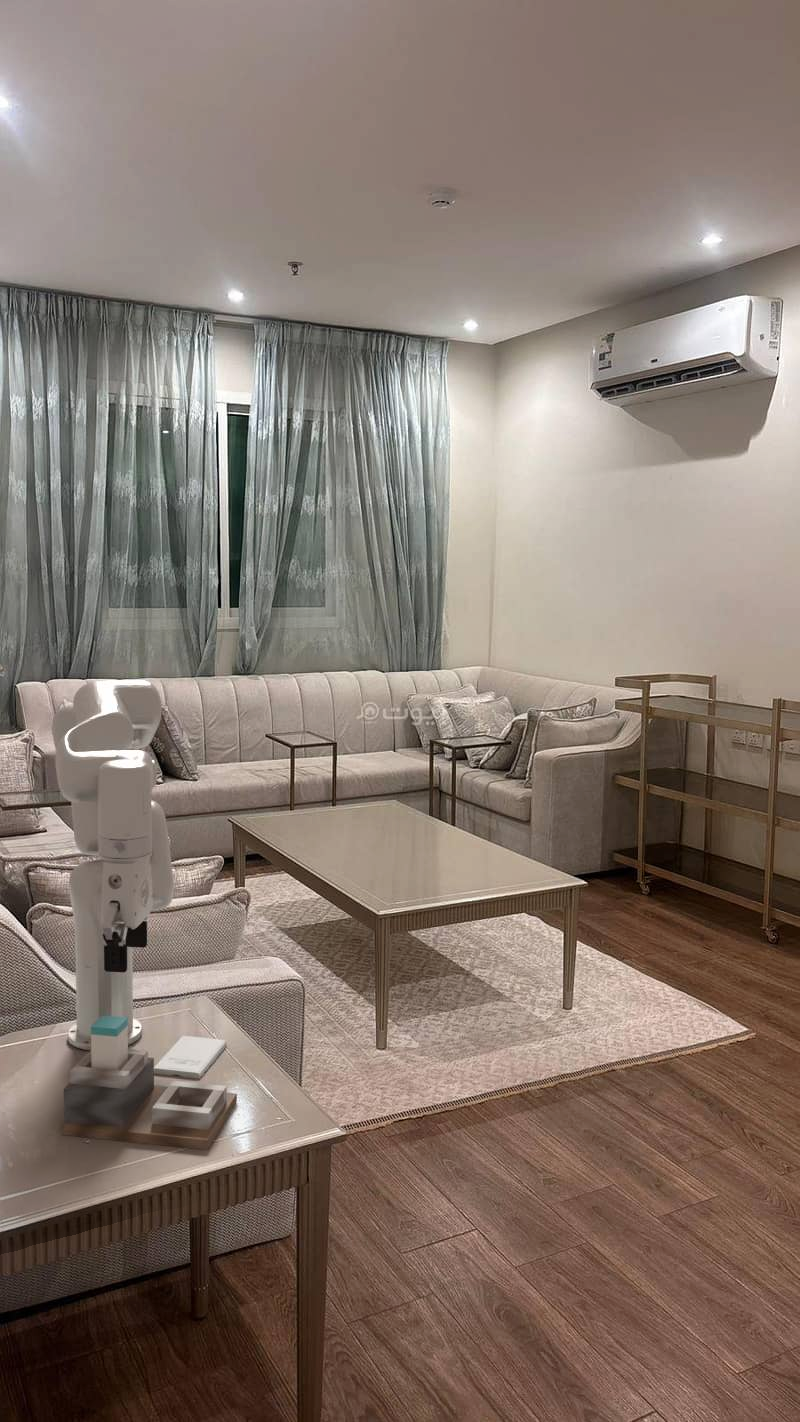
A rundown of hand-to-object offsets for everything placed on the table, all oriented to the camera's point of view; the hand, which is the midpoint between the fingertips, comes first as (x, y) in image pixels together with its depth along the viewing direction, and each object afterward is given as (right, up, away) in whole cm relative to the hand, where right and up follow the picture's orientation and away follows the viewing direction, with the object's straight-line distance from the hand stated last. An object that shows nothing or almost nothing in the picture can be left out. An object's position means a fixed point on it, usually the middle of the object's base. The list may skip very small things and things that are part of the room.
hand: (126, 958), depth 159 cm
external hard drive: (+5, -23, +23) cm, 33 cm away
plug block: (-3, -18, +3) cm, 18 cm away
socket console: (+3, -25, +3) cm, 25 cm away
